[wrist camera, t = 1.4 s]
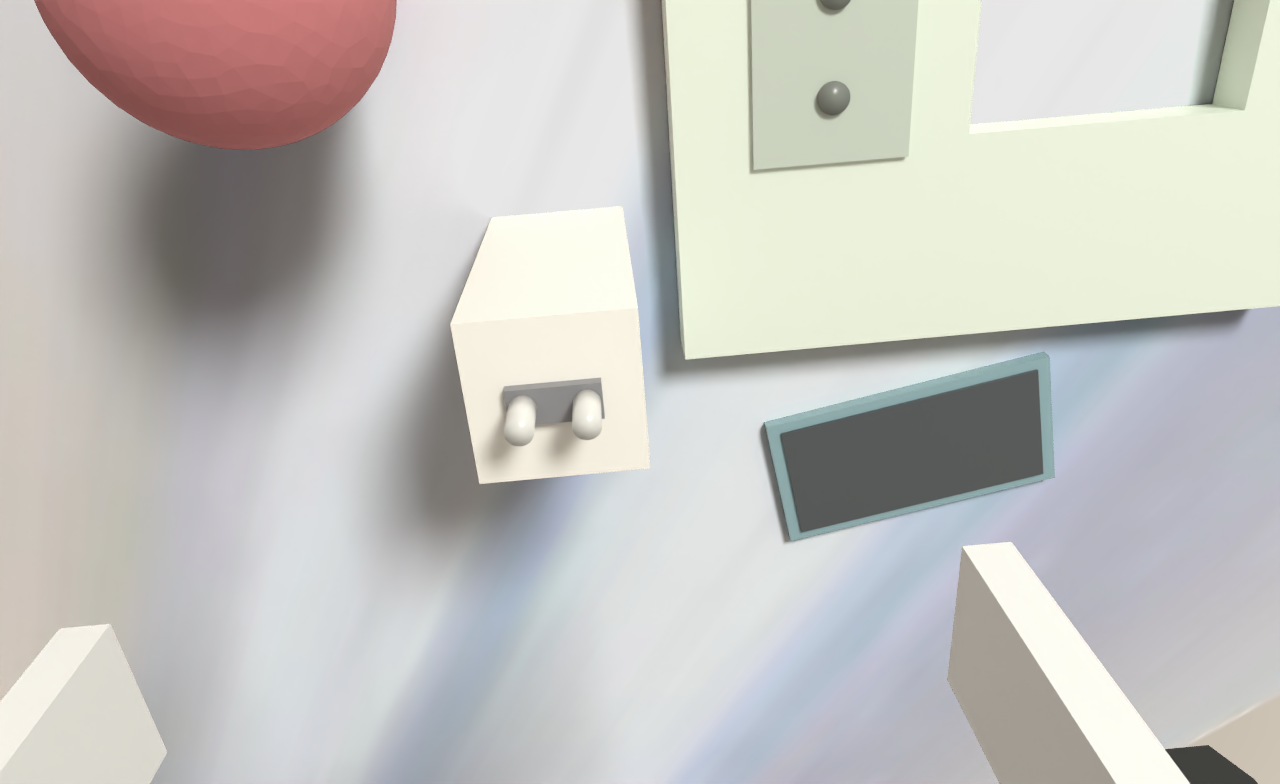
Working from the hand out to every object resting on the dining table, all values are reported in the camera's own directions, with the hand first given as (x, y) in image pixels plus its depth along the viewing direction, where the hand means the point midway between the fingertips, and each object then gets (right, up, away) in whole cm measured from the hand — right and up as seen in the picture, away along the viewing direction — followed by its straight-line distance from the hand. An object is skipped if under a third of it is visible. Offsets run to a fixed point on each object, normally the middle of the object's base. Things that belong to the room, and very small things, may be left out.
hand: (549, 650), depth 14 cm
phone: (+12, +2, +21) cm, 25 cm away
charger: (-1, +8, +17) cm, 19 cm away
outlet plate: (+13, +14, +15) cm, 24 cm away
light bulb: (-8, +17, +13) cm, 22 cm away
